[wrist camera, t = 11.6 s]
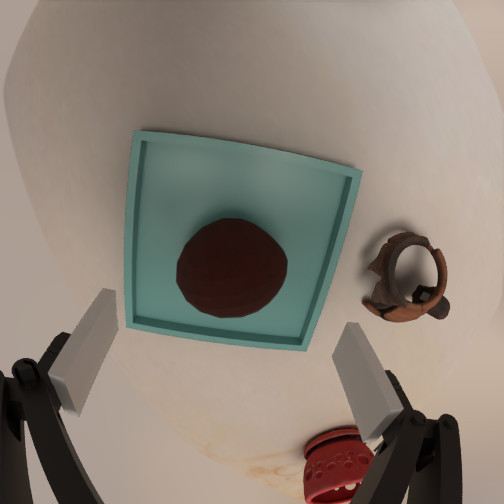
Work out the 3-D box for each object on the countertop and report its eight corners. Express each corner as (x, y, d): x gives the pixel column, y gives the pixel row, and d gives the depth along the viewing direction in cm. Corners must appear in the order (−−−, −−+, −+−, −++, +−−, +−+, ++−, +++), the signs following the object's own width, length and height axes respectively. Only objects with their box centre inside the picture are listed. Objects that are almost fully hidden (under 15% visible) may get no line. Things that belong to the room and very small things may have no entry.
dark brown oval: (285, 279, 28) (301, 327, 21) (193, 295, 29) (181, 345, 21) (274, 199, 25) (289, 224, 18) (171, 218, 25) (148, 251, 18)
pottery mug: (336, 300, 31) (365, 301, 23) (366, 226, 33) (399, 206, 24) (414, 339, 31) (455, 347, 22) (439, 270, 32) (480, 262, 24)
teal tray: (141, 130, 23) (133, 130, 21) (354, 168, 25) (362, 171, 23) (131, 316, 30) (126, 327, 28) (302, 340, 32) (306, 351, 30)
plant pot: (337, 415, 39) (357, 477, 28) (378, 430, 43) (397, 479, 32) (280, 450, 42) (289, 506, 31) (326, 461, 46) (338, 508, 35)
